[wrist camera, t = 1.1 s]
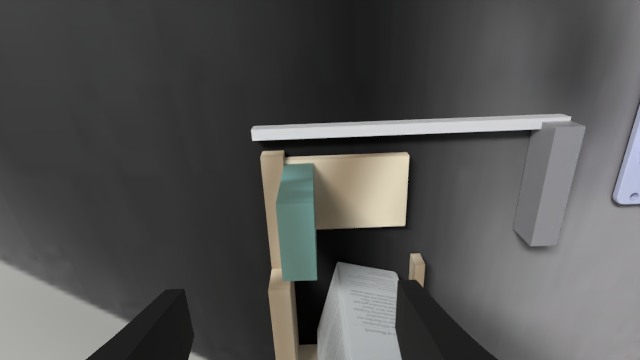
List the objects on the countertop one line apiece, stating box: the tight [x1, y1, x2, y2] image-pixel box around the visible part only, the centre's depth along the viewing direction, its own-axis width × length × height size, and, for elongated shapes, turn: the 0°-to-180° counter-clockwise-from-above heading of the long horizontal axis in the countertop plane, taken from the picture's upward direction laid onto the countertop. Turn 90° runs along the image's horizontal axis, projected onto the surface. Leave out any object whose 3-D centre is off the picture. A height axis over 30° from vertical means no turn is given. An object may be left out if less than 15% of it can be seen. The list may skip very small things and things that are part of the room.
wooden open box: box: [260, 150, 425, 360], centre depth 21 cm, size 9×15×6 cm, turn 2°
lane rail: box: [251, 114, 586, 246], centre depth 21 cm, size 17×7×2 cm, turn 92°
